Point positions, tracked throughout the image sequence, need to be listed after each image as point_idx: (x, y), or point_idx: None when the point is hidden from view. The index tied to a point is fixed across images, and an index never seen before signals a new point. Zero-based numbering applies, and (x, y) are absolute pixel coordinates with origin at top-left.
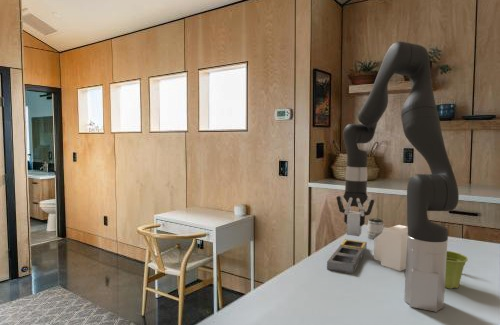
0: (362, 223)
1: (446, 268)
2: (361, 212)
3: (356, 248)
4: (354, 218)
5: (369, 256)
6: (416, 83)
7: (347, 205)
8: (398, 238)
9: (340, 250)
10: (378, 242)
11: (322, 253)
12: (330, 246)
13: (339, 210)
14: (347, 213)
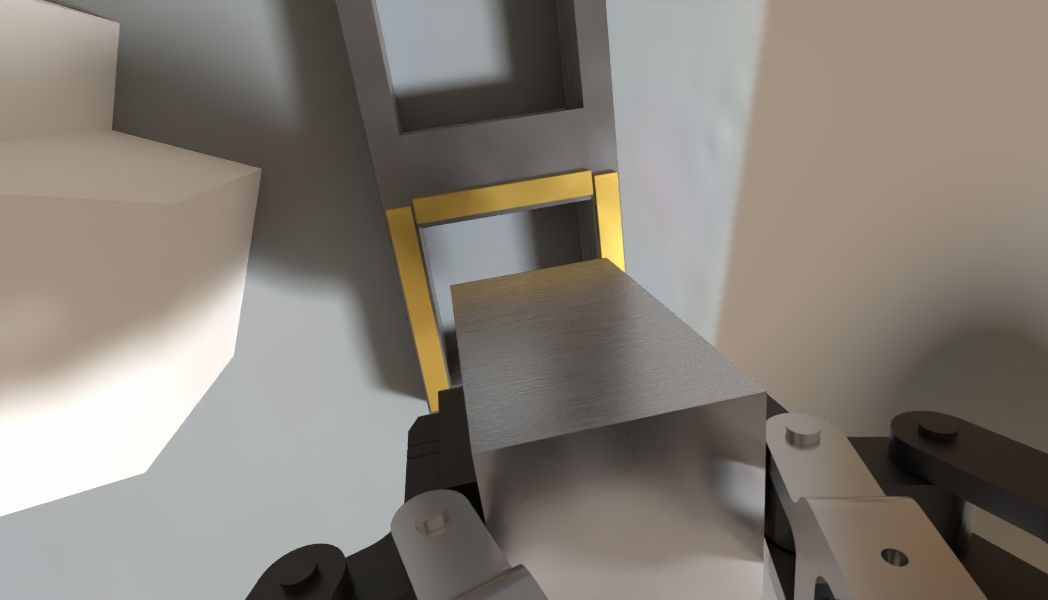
0: (436, 424)
1: None
2: (466, 547)
3: (441, 173)
4: (572, 374)
5: (326, 217)
6: None
7: (927, 549)
8: None
9: (573, 42)
10: (122, 178)
11: (725, 14)
12: (714, 266)
13: (969, 423)
14: (760, 387)
